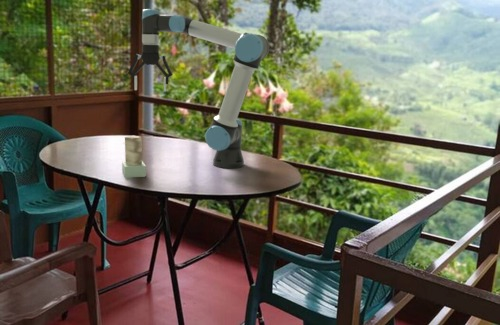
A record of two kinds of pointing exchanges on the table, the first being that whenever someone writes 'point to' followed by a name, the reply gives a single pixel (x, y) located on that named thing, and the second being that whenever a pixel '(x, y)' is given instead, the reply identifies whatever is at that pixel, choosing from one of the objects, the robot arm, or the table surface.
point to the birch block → (133, 150)
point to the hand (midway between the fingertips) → (150, 90)
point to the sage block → (133, 170)
